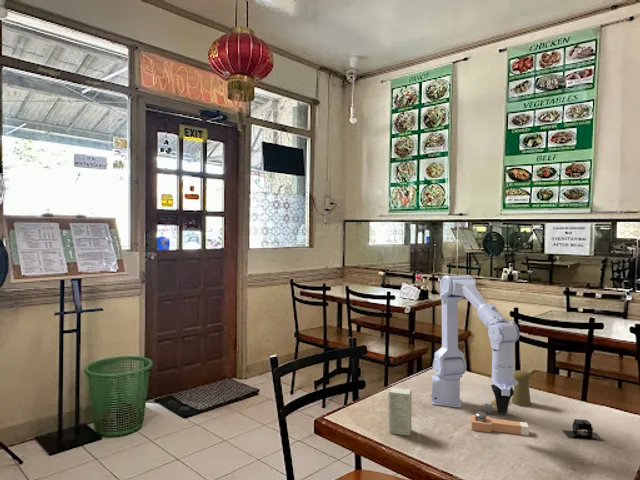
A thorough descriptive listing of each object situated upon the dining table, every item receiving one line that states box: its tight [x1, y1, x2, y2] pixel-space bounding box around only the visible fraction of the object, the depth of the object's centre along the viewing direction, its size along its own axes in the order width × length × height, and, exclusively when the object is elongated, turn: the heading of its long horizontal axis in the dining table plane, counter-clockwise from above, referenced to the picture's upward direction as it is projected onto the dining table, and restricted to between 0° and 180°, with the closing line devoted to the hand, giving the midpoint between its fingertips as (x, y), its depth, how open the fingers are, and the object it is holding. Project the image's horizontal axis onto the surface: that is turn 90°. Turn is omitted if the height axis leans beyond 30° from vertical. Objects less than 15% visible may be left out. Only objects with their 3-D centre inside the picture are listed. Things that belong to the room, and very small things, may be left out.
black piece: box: [561, 418, 605, 442], centre depth 129 cm, size 12×7×5 cm, turn 81°
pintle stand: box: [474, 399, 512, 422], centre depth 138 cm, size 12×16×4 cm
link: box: [470, 414, 530, 436], centre depth 131 cm, size 16×5×2 cm, turn 75°
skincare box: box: [388, 386, 413, 436], centre depth 129 cm, size 6×4×12 cm
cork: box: [511, 369, 532, 408], centre depth 152 cm, size 6×6×11 cm
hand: (501, 412), depth 126 cm, fingers closed
